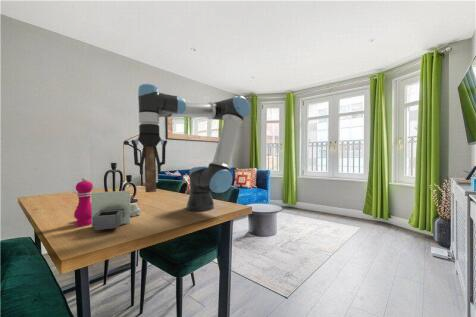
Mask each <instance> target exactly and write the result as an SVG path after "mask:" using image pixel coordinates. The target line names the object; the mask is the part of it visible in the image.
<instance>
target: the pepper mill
mask: <svg viewBox="0 0 476 317" xmlns="http://www.w3.org/2000/svg"><path fill="white" fill-rule="evenodd" d="M93 189H94V186H93V183H92V182H91V181H88V178H87V177H85V176H84V177H82V179H81V181H79V182H78V183H76V185H75V191H76V192H77V193H76V194H77V195H76V196H77V197H78V204H77V206H76V208H75V210H74V213H73V217H74V219H75V226H76V227H86V226H90V225H91V226H92V201H91V193H93V192H92V190H93Z"/></svg>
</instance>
